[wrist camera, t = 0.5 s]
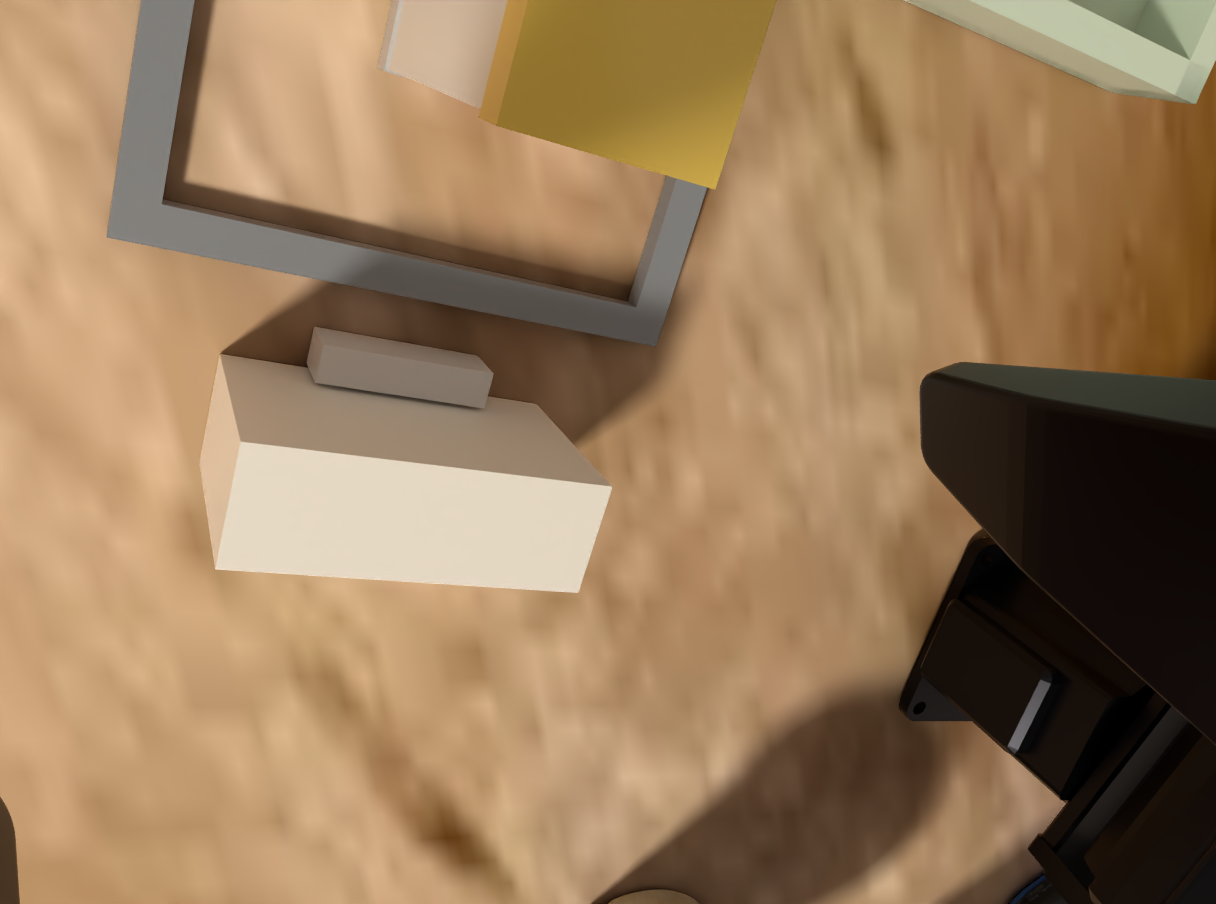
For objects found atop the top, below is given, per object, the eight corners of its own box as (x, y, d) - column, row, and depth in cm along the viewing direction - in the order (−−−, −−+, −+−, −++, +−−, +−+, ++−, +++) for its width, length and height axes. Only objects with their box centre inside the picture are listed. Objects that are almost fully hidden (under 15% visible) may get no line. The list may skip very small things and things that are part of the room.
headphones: (917, -509, 19) (1107, -621, 16) (583, 537, 26) (660, 635, 22) (284, -991, 14) (344, -1341, 10) (69, 489, 21) (57, 607, 17)
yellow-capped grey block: (582, -56, 20) (797, -62, 14) (535, 118, 21) (715, 189, 15) (415, -122, 19) (569, -164, 12) (374, 69, 20) (495, 125, 13)
